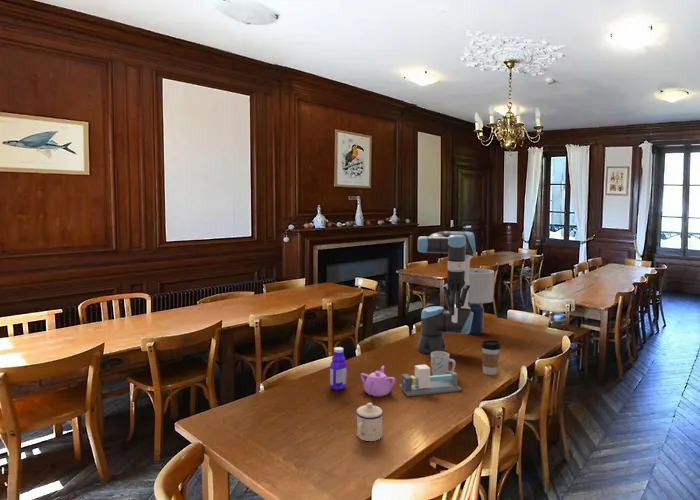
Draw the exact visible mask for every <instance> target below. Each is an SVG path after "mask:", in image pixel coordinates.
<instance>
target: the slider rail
mask: <svg viewBox="0 0 700 500" xmlns="http://www.w3.org/2000/svg"><path fill="white" fill-rule="evenodd" d="M458 376H459V375H458V373H457V372H456V371H454V372H450V374H449V373H447V374H444V375H433V374H432V375H430V388H422V389H419V388H418V385H415V383H418V378H417V377H415V375H409V374H408V373H402V374H401V384H399V388H400V389H401V390H402V391H403V392H404V394H405V396H407V397H414V396H423V395H432V394H433V395H434V394H442V393H454V392H460V391H462V388H461V387H460V386H459V385H458V381H459V379H458V378H459V377H458Z"/></svg>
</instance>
